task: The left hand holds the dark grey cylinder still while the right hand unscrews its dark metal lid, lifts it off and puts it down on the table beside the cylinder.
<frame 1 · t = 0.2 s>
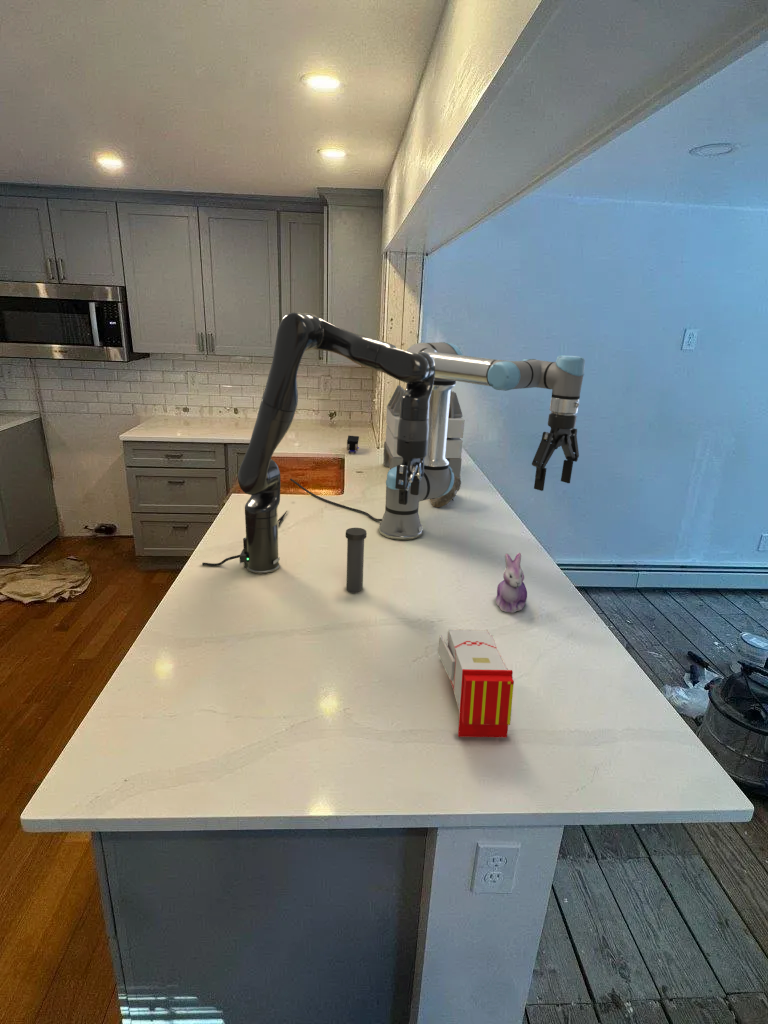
left hand: (408, 499, 145), 29 cm above the counter, tool pointing down, fingers open, 8 cm apart
right hand: (552, 485, 166), 28 cm above the counter, tool pointing down, fingers open, 13 cm apart
figurine character: (352, 451, 310), on the counter
toy: (469, 691, 119), on the counter
figurine: (510, 605, 154), on the counter
dark grey cylinder: (354, 589, 159), on the counter
fossil: (443, 500, 237), on the counter
feather: (285, 514, 213), on the counter
white wooden crate: (419, 473, 275), on the counter
lid: (356, 532, 154), point 17 cm above the counter, screwed on, not yet turned
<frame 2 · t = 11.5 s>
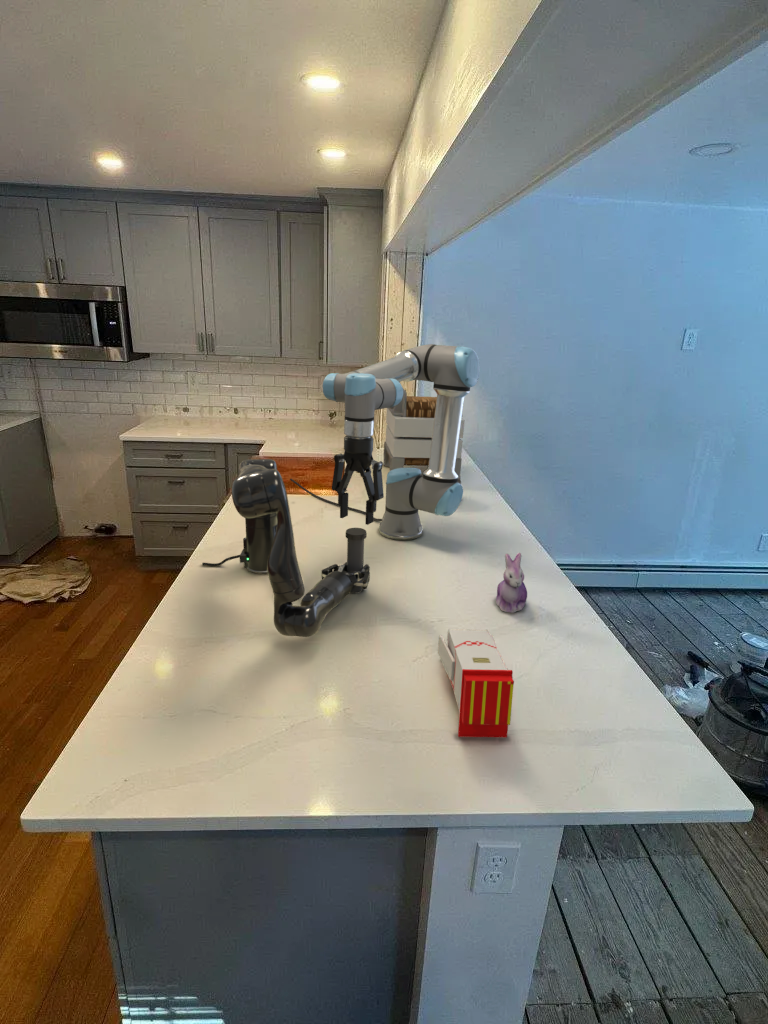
left hand: (359, 565, 160), 6 cm above the counter, tool horizontal, fingers closed on dark grey cylinder, 4 cm apart
right hand: (356, 519, 152), 21 cm above the counter, tool pointing down, fingers open, 7 cm apart
dark grey cylinder: (354, 589, 159), on the counter, touching left hand
everything else where it was.
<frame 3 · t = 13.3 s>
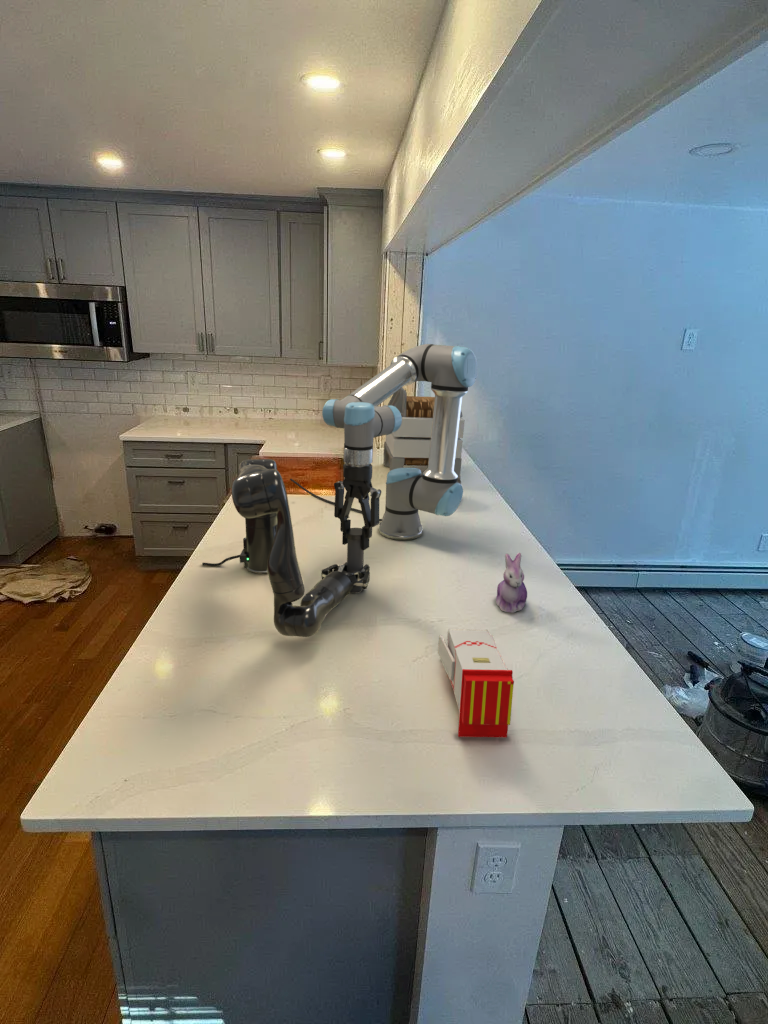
left hand: (359, 565, 160), 6 cm above the counter, tool horizontal, fingers closed on dark grey cylinder, 4 cm apart
right hand: (355, 545, 155), 13 cm above the counter, tool pointing down, fingers closed on lid, 5 cm apart
dark grey cylinder: (354, 589, 159), on the counter, touching left hand
lid: (356, 532, 154), point 17 cm above the counter, screwed on, not yet turned, touching right hand
everything else where it was.
when the right hand's fingers open (14 cm above the counter, at t = 14.7 s): lid stays where it is, point 17 cm above the counter.
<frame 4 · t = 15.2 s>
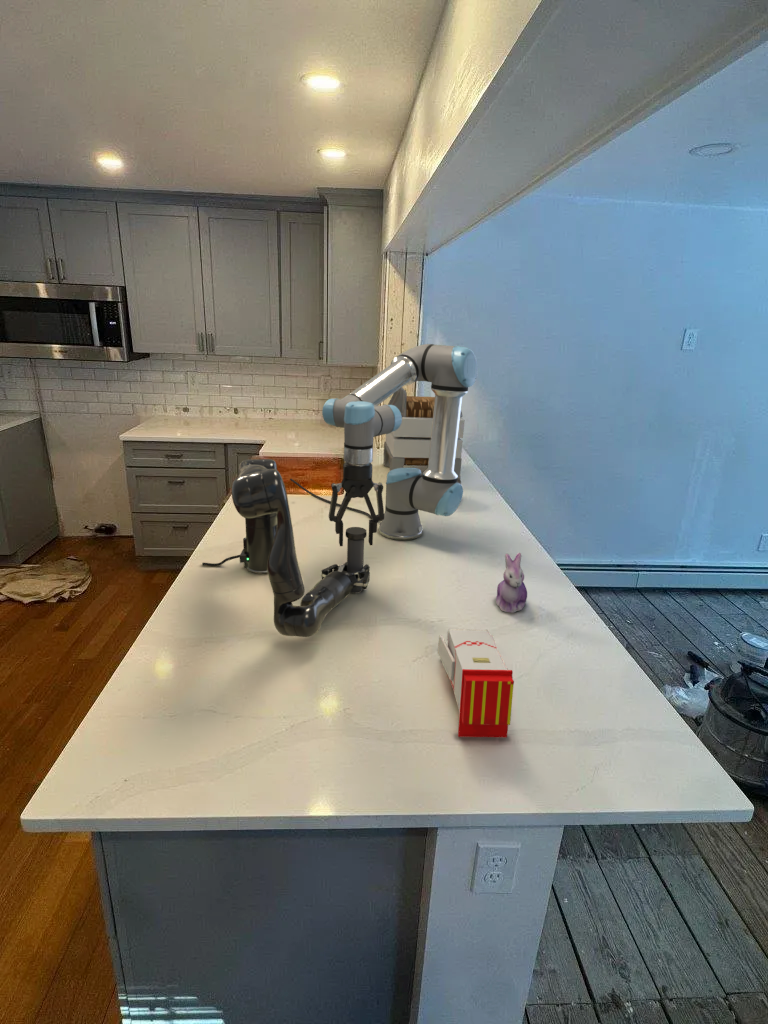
left hand: (358, 565, 160), 6 cm above the counter, tool horizontal, fingers closed on dark grey cylinder, 4 cm apart
right hand: (355, 543, 155), 14 cm above the counter, tool pointing down, fingers open, 7 cm apart
dark grey cylinder: (354, 589, 159), on the counter, touching left hand
lid: (356, 531, 153), point 17 cm above the counter, turned 84° so far, risen 0.2 cm, still on its thread
everything else where it was.
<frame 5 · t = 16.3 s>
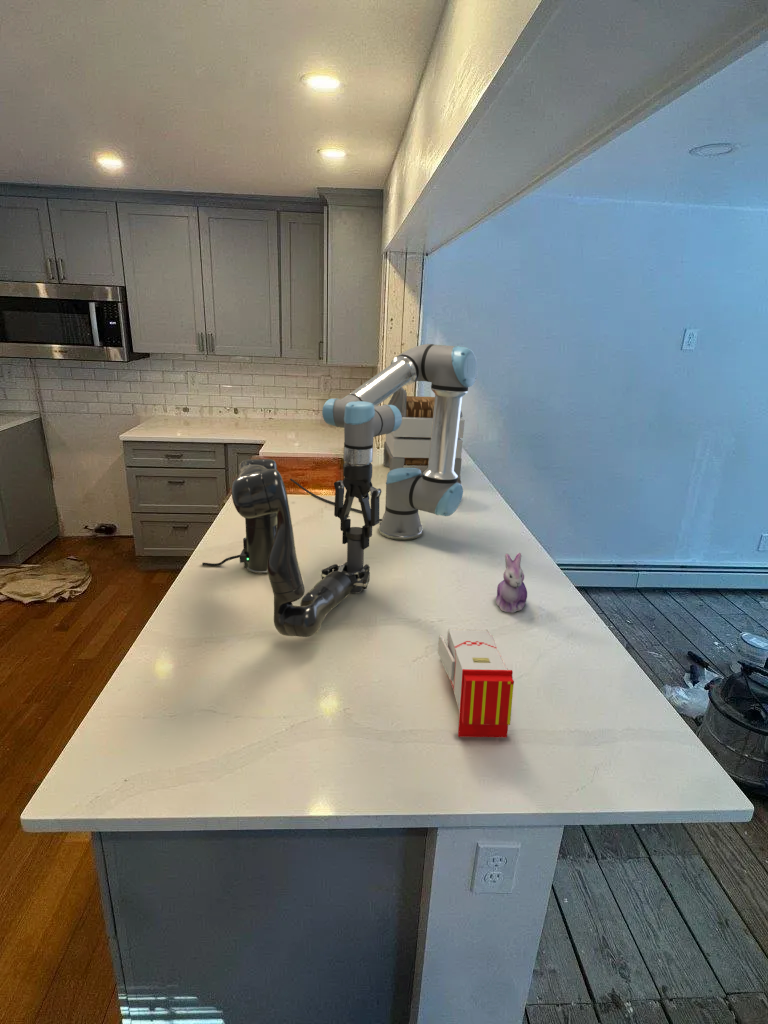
left hand: (358, 565, 160), 6 cm above the counter, tool horizontal, fingers closed on dark grey cylinder, 4 cm apart
right hand: (355, 544, 155), 14 cm above the counter, tool pointing down, fingers closed on lid, 5 cm apart
dark grey cylinder: (354, 589, 159), on the counter, touching left hand
lid: (356, 531, 153), point 17 cm above the counter, turned 84° so far, risen 0.2 cm, still on its thread, touching right hand
everything else where it was.
when the right hand's fingers open (1 cm above the counter, at t = 21.5 s): lid drops 3 cm, point 1 cm above the counter.
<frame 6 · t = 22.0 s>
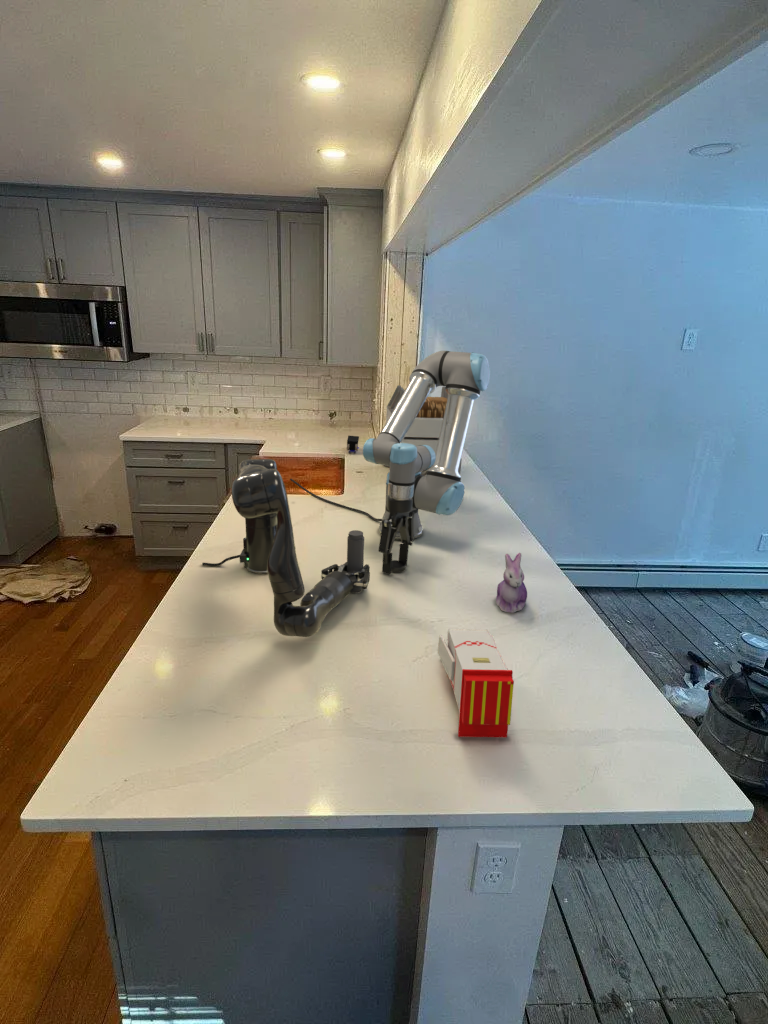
left hand: (358, 565, 160), 6 cm above the counter, tool horizontal, fingers closed on dark grey cylinder, 4 cm apart
right hand: (394, 568, 173), 0 cm above the counter, tool pointing down, fingers open, 8 cm apart
dark grey cylinder: (354, 589, 159), on the counter, touching left hand
lid: (396, 565, 173), point 1 cm above the counter, off its thread
everything else where it was.
when the left hand's fingers open (6 cm above the counter, at t = 23.3 s): dark grey cylinder stays where it is, on the counter.
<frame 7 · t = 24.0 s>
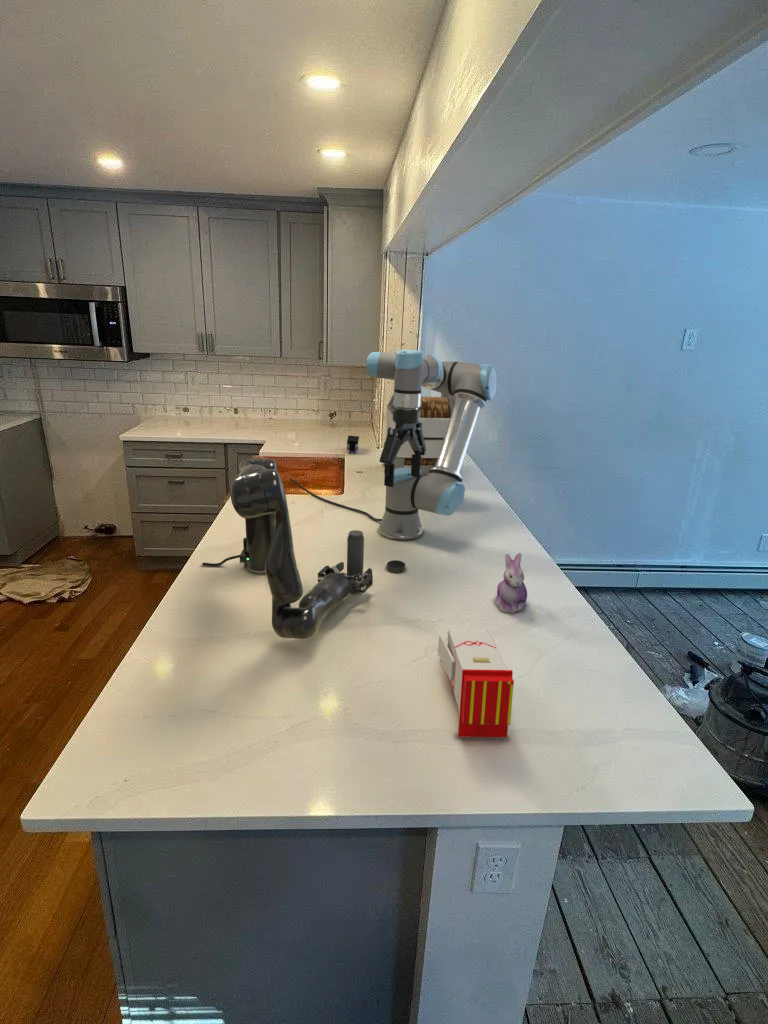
left hand: (356, 568, 158), 6 cm above the counter, tool horizontal, fingers open, 8 cm apart
right hand: (402, 481, 164), 28 cm above the counter, tool pointing down, fingers open, 13 cm apart
dark grey cylinder: (354, 589, 159), on the counter
everything else where it was.
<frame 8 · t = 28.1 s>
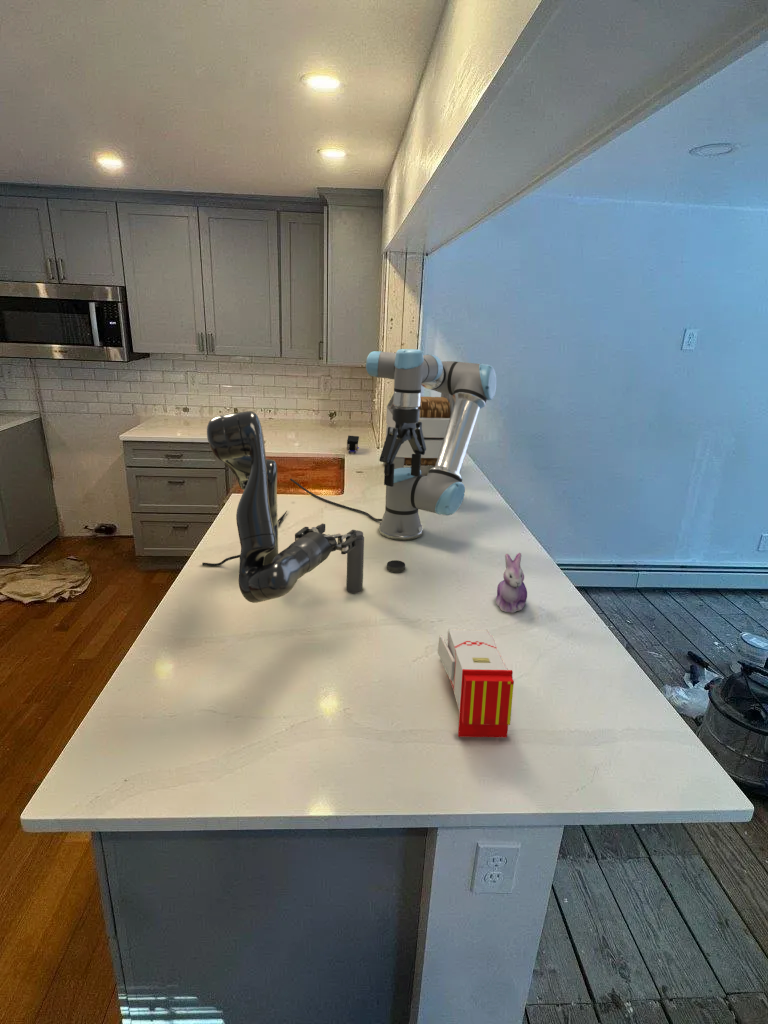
left hand: (339, 530, 143), 22 cm above the counter, tool horizontal, fingers open, 8 cm apart
right hand: (402, 480, 164), 28 cm above the counter, tool pointing down, fingers open, 13 cm apart
nothing on the counter moved.
at the end: lid came off its thread; lid point 1.2 cm above the counter; the left hand is holding nothing; the right hand is holding nothing; dark grey cylinder tilted 0°; dark grey cylinder moved 0.0 cm from its start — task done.
